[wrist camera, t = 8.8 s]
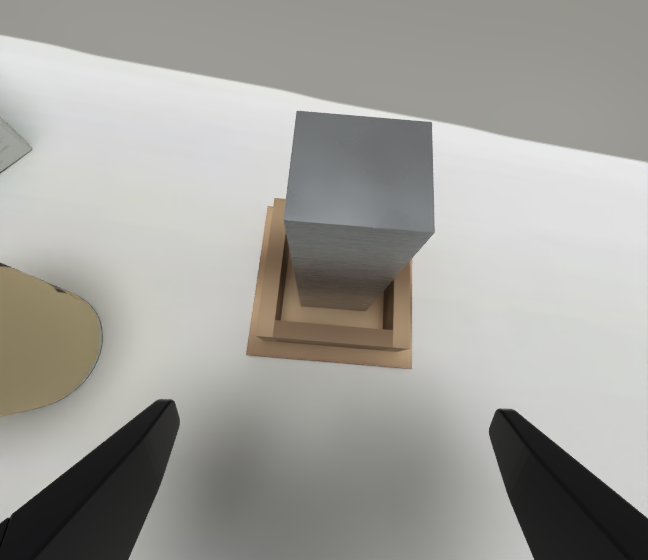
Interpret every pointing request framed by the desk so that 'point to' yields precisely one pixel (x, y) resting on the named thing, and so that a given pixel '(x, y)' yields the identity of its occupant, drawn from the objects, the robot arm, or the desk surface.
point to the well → (324, 314)
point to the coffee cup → (42, 342)
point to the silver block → (356, 205)
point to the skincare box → (10, 146)
